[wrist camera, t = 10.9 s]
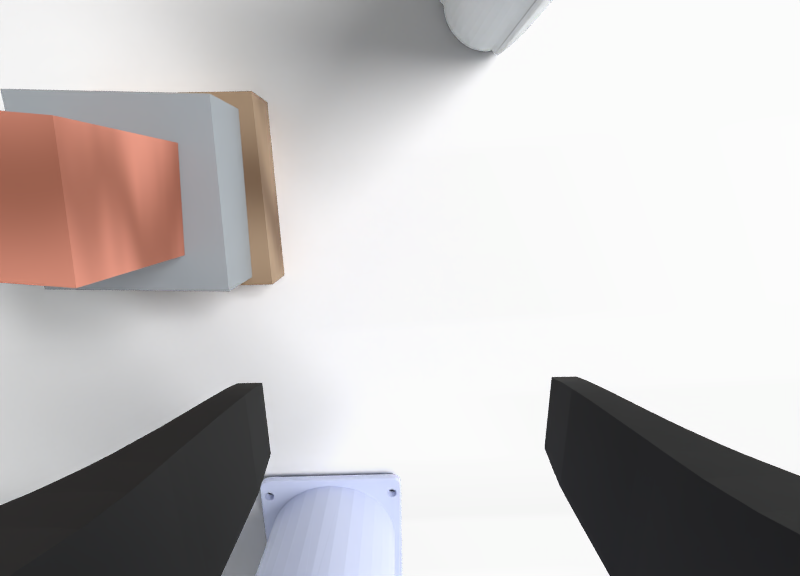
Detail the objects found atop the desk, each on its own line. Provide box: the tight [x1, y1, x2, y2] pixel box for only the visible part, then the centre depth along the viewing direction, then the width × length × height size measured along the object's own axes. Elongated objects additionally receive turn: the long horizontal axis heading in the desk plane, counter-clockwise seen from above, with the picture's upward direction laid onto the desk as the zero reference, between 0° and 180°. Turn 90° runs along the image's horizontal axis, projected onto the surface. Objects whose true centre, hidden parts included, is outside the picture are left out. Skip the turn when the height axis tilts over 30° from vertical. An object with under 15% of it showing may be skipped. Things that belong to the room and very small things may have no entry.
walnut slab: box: [184, 91, 284, 285], centre depth 17 cm, size 8×8×2 cm
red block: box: [0, 111, 185, 288], centre depth 11 cm, size 4×4×5 cm
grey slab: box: [1, 89, 252, 291], centre depth 15 cm, size 7×7×2 cm
